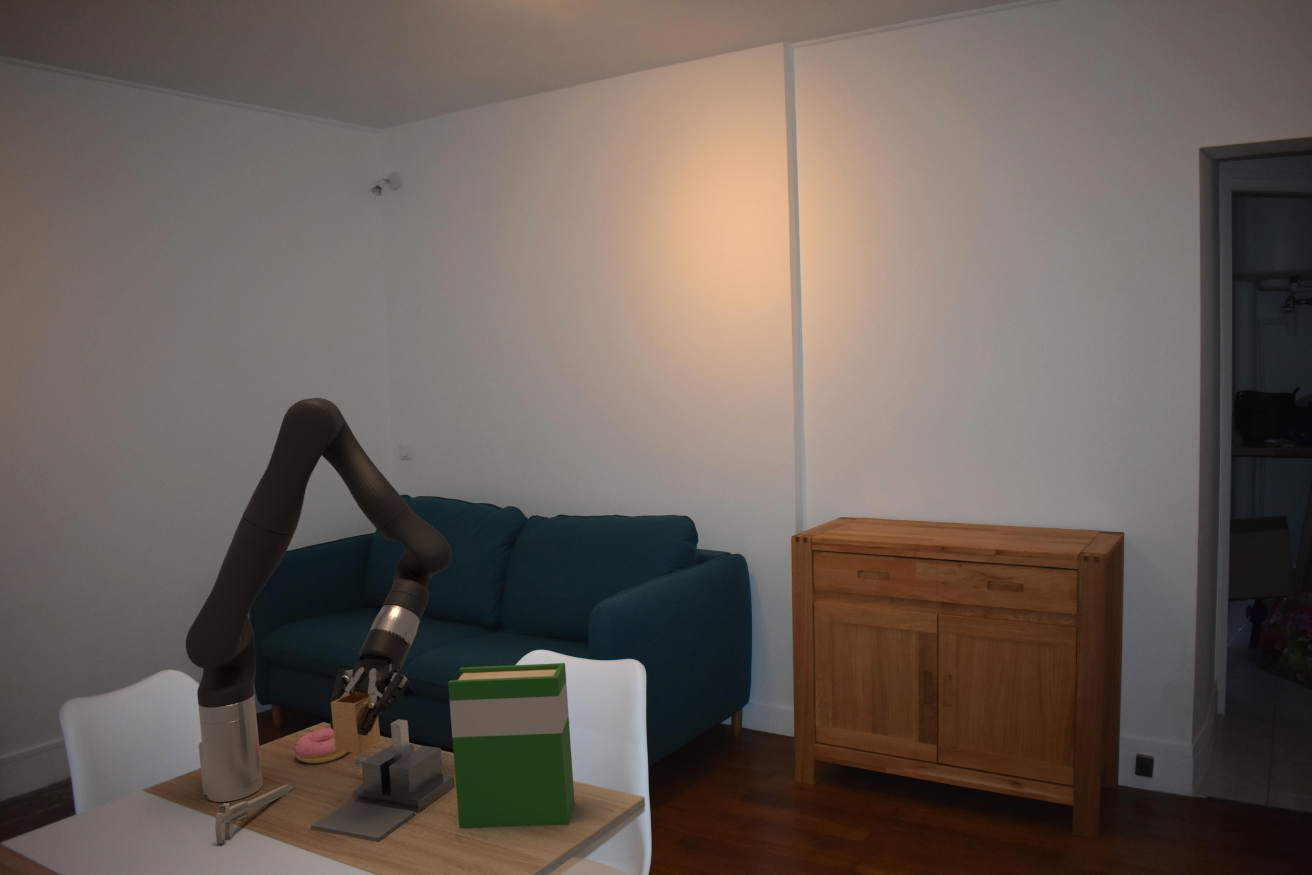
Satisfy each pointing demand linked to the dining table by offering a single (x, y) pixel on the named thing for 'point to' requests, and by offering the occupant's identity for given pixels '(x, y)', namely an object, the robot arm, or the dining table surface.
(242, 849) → the dining table surface
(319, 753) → the doughnut
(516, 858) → the dining table surface
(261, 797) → the caliper
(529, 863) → the dining table surface
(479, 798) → the hardback book
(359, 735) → the copper collar
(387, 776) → the grey slotted block
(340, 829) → the slate pad
